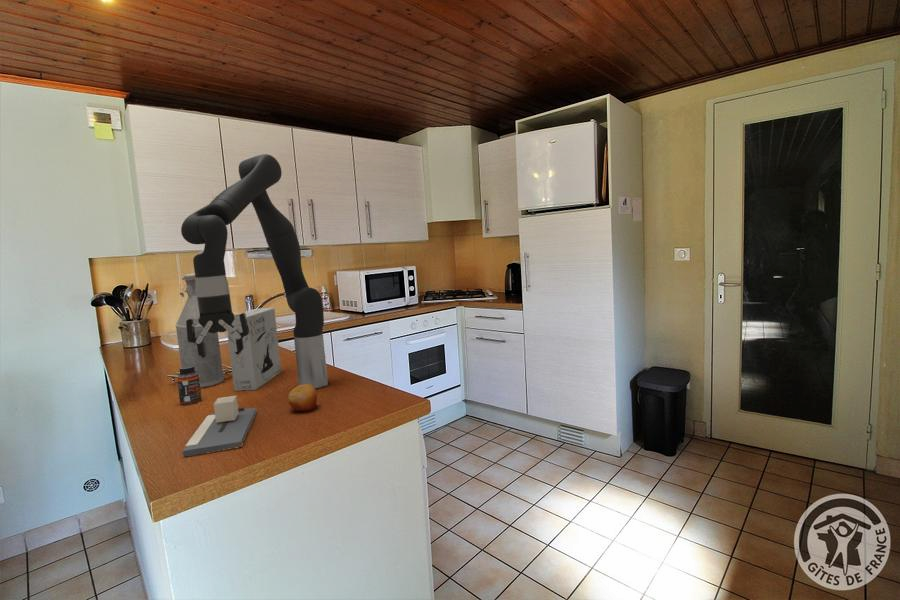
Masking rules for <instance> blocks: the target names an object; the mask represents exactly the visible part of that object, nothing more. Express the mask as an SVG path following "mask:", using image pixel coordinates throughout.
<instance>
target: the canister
mask: <svg viewBox="0 0 900 600" xmlns="http://www.w3.org/2000/svg"><path fill="white" fill-rule="evenodd" d="M183 276H184V277H182V278H181V281H182V280H183V281H184V282H185V285H183V287H182V290H181V291H182V292H179V295H180V296H181V297H182V298H184V297H185V294H184V293H186V294H187V299H186V300H185V303H184V305H183V308H182V310H181V313H180V315H179V317H178V319H177V322H176V324H175V329H176V336H177V344H178V351H179V360H180V368H181V367H184V366H194V369H195V371H196V372H197V373H198V374H199V381H200V389H201V388H209V387H212V386H215V385H219V384H220V383H222V382H224V380H225V377H224V370H223V362H222V355H221V347H220V340H219V332H216V333H210V332H209V333H208V334H207V336H206V337H205V339H204V340H203V342H205V349H206V357H205V358H202V357H201V356H199V354H198V348H197V344H196V343H193V342H188V339H187V326H186V321H187V320H188V319H190V318H193V319H199V317H200V314H199V307H198V300H197V295H196V277H195V273H189V274H184V275H183ZM184 288H185V289H186V290H184ZM203 329H204V327H203V326H202V325H200V324H199V323H197V326H195V337H199V335H200V333H201V332H202V330H203Z"/></svg>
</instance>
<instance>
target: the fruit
mask: <svg viewBox="0 0 900 600" xmlns="http://www.w3.org/2000/svg"><path fill="white" fill-rule="evenodd" d="M317 400H318V393H317V390H316V388H314V387H313V386H312V385H310V384H304V385H299V384H298V385H297V386H296V387H294V388H293V389H291V391H289V393H288V394H287V403H288V404H289V406H290V407H291V408H292V410H293V411H295V412H296V411H297V412H308V411H312V410H313V409H315V408H316V407H317Z"/></svg>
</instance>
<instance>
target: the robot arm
mask: <svg viewBox="0 0 900 600" xmlns="http://www.w3.org/2000/svg"><path fill="white" fill-rule="evenodd" d="M238 174H239V175H238V176H239V178H240V180H238V181H236V182H235V183H233V184H232V185H230V186H228V187H226V188H225V189H224V190H223V191H221V192H220V193H219V194H218V195H216V197H215V198H214V199H212V200H211V201H210V203H208V204H207V205H205V206H203V207H201V208H199V209H197V210H196V211H195V212H193V213H191V214H189V215H188V216H187V217H186V218H185V219H184V220H183V222H182V224H181V228H180V233H181V236H182V238H183V239H184V241H186V242H188V244H192V245H204V248H203V251H202V252H201V253H198V254H196V255H194V256H193V260H192V261H193V262H192V263H193V269H194V274H195V277H196V295H197V300H198V307H199V314H200V317H199V319H193V318H190V319H188V320H187V321H186V326H187V339H188V342H193V343H196V344H197V348H198V354H199V356H201V357H202V358H205V357H206V349H205V342H203V340H204V339H205V337H206V336H207V334H208V333H209V332H210V333H216V332H218V333H225V332H227V331H228V332H229V333H231V334H232V335H233V336H235V337H236V338H237V339H236V346H237V353H241V350H243V348H244V346H243V337H244V336H247V335H248V334H249V328H248V323H247V318H246V314H245V313H243V312H240V313H241V314H240V313H237V315H236V314H234V312H233V309H232V301H231V295H230V287H229V282H228V279H227V273H226V271H227V270H226V266H225V256H226V250H227V249H226V248H227V242H228V234H229V233H228V228H227V226H229V225H230V224H232V223H233V222H234V221H235V220H236V219H237V218H238V217H239V216H240V215H241V213H242V212H243V211H244V210H245V209H246V208H247V207H248V206H249V205H250V204H252V207H253V209H254V211H255V213H256V216H257V219H258V221H259V224H260V227H261V229H262V232H263V235H264V238H265V241H266V243H267V246H268V249H269V252H270V254H271V256H272V259H273V261H274V264H275V267H276V269H277V271H278V273H279V276H280V278H281V282H282V286H283V290H284V294H285V300H286V302H287V306H288V307H289V309H290V310H291V311H292V312H293V313H294V315H295V316H294V317H295V326H294V328H293V331H292V332H293V339H294V340H293V342H294V351H295V359H296V368H297V369H296V371H297V378H298V380H297V381H298V386H299V385H304V384H310V385H312V386H313V387H314V388H315V389H318V388H322V387H325V386H329V384H328V383H329V381H328V371H327V370H328V369H327V361H326V354H325V353H326V352H325V343H324V333H323V328H324V324H325V319H324V304H323V298H322V294H321V293H320V292H319V290H317V289H316V288H314V287H310V286H309V285H308V282H307V280H306V278H305V275H304V273H303V267H302V254H301V246H300V242H299V238H298V235H297V233H296V230H295V227H294V226H293V224H292V222H291V221H290V220H289V218H287V217H286V216H285V215H284V214H283V213H282V212H281V211H280V210H279V209H277V207H276V206H275V205H274V204H273V202H272V201H271V199H270V196H269V194H268V192H267V190H268V189H269V188H270V187H273V186H274V185H275V184H278V182H279V181H280V180H281V178H282V167H281V165H280V163H279V161H278V160H277V158H275V157H274V156H273V155H272V154H271V155H270V154H267V153H266V154H265V153H263V154H259V155H255V156H252V157H250V158H246V159H244V160H242V161H241V162H240V163H239V164H238ZM234 319H237V320H238V322H241V326H242V331H243V332H241V333H240V332H239V331H238V330H237V328H236V327H235V326H233V325H232V323H233V321H234ZM197 323H199V324H200V325H202V326H203V327H204V329H203V330H202V332H201V333H200V335H199V337H195V326H197Z"/></svg>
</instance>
